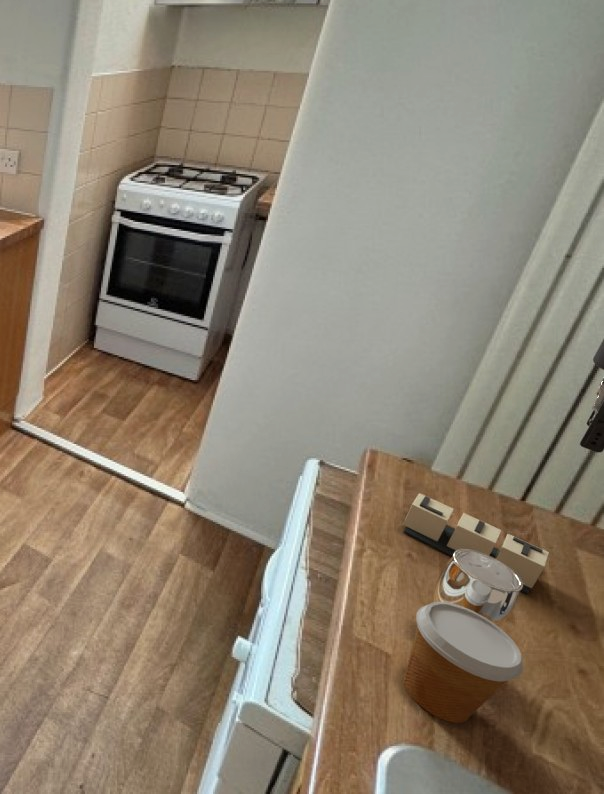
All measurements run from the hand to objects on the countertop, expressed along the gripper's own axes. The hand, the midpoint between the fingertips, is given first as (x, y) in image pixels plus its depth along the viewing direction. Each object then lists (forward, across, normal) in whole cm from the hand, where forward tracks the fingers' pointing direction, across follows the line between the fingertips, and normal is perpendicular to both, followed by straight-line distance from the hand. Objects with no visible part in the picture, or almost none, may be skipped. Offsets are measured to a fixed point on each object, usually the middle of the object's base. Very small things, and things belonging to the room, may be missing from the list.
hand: (593, 438), depth 90 cm
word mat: (+24, -6, +6) cm, 26 cm away
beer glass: (+24, -32, +4) cm, 40 cm away
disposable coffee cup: (+24, -42, +3) cm, 49 cm away
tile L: (+24, -6, +12) cm, 27 cm away
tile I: (+24, -6, +6) cm, 25 cm away
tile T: (+24, -6, +1) cm, 24 cm away
